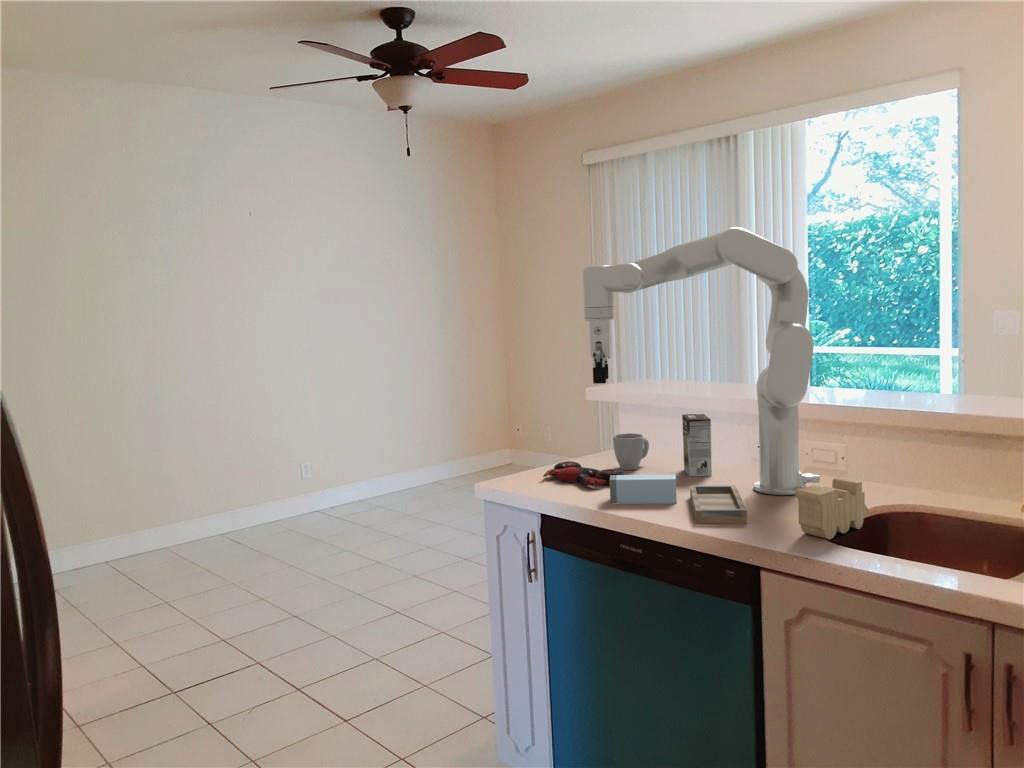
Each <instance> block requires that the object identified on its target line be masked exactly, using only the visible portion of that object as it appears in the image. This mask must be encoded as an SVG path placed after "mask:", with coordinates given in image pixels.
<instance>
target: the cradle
mask: <svg viewBox="0 0 1024 768" xmlns="http://www.w3.org/2000/svg"><path fill="white" fill-rule="evenodd" d="M689 494H690V496H689V497H690V502H691V507H692V511H693V517H694V520H695V524H696V525H698V524H699V525H710V524H711V525H714V524H715V525H716V524H717V525H718V524H719V525H721V524H722V525H723V524H724V525H725V524H727V525H731V524H732V525H737V524H738V525H744V524H745V525H748V510H747V508H746V505H745V502H744V501H743V498H742V496H741V494H740V492H739V490H738V488H737V485H735V484H733V485H729V484H727V485H690V486H689Z"/></svg>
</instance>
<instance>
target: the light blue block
mask: <svg viewBox="0 0 1024 768" xmlns="http://www.w3.org/2000/svg"><path fill="white" fill-rule="evenodd" d="M677 500H678V499H677V478H676V474H625V475H610V485H609V501H610V503H624V504H628V505H629V504H631V505H632V504H637V505H638V504H677V502H678V501H677Z"/></svg>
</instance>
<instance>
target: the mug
mask: <svg viewBox="0 0 1024 768" xmlns="http://www.w3.org/2000/svg"><path fill="white" fill-rule="evenodd" d="M612 439H613V450H614V451H613V452H614V454H615V458H616V461H617V463H618V465H619V469H621V470H625V471H633V470H638V469H639V467H640V465H641V464H640V463H642V462H641V461H642V460H643V459H645V458H646V457H647V455H648V454H649V453H648V452H649V450H650V449H649V448H650V444H649V440H648V439H647V438H645V437H644V435H643V434H641V433H633V432H632V433H629V432H627V433H617V434H615V435H613V438H612Z"/></svg>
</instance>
